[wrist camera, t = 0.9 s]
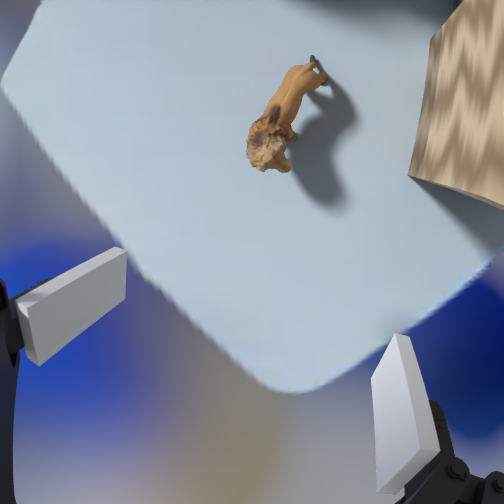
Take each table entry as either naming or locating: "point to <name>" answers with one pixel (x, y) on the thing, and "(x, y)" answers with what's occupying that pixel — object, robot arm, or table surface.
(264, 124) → the lion figurine
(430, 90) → the cabinet
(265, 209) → the table surface
